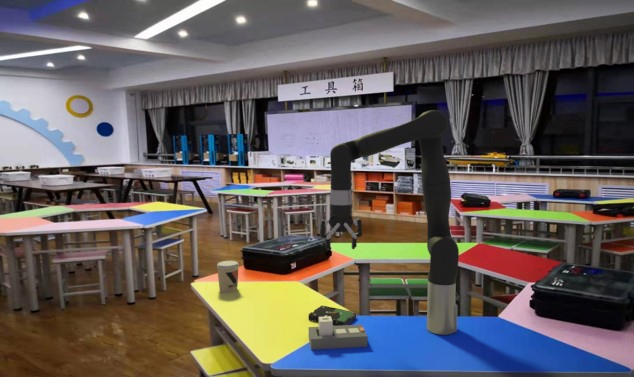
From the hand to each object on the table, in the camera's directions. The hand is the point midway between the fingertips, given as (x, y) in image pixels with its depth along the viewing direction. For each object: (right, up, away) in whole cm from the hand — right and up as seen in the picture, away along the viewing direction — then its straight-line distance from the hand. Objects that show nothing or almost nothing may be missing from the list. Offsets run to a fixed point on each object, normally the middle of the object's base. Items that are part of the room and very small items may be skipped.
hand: (340, 249), depth 152 cm
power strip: (-2, -29, -8) cm, 30 cm away
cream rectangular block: (-6, -29, -9) cm, 31 cm away
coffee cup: (-47, -24, +43) cm, 68 cm away
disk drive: (-3, -28, +11) cm, 30 cm away
